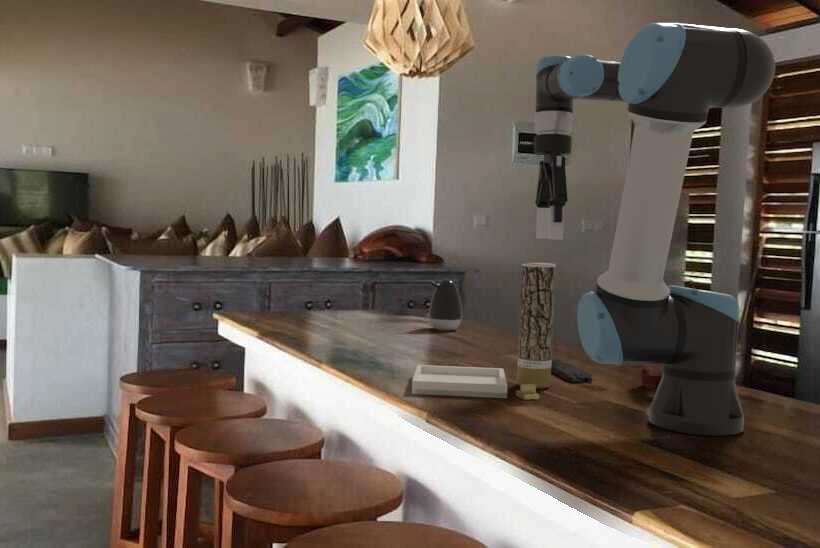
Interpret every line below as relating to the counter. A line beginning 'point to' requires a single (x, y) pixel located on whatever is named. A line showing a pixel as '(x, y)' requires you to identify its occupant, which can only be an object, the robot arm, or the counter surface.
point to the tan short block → (527, 392)
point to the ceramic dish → (459, 381)
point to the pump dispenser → (445, 306)
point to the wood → (570, 372)
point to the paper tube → (536, 324)
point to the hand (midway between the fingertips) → (549, 239)
